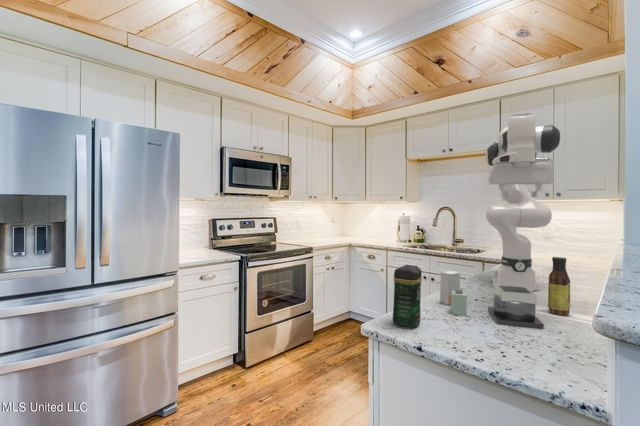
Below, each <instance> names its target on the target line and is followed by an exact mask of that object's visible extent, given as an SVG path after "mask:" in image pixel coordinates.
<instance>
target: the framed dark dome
mask: <svg viewBox="0 0 640 426" xmlns="http://www.w3.org/2000/svg"><path fill="white" fill-rule="evenodd" d="M536 305H537V293H535V292H534V291H531V290H530V289H528V288H527V287H518V286H505V285H495V287H494V295H493V306H491V305H489V306H487V311H488V313H489V315H490V316H491V318H492V319H493V321H494V323H495V324H496V325H503V326H512V327H520V328H521V327H522V328H531V329H539V330H544V329H545V324H544V322H542V321H541V320H540V319H539V318H538V317H537V316H536V308H537V306H536Z"/></svg>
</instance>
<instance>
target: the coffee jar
mask: <svg viewBox="0 0 640 426" xmlns="http://www.w3.org/2000/svg"><path fill="white" fill-rule="evenodd" d="M393 284H394V285H393V286H394V287H393V307H392V323H393V325H395V326H397V327H399V328H403V329H407V328H408V329H414V328H416V327H417V326H418V325H420V322H421V301H422V300H421V297H422V296H421V295H422V294H421V293H422V291H421V290H422V269H421V268H420V267H419V266H418V265H414V264H413V265H412V264H405V265H402V266H400V267H397V268H395V269H394V273H393Z"/></svg>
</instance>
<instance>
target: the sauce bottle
mask: <svg viewBox="0 0 640 426" xmlns="http://www.w3.org/2000/svg"><path fill="white" fill-rule="evenodd" d="M551 260H552V271H551V272H550V273H549V275H548V283H547V284H548V288H547V289H548V291H547V292H548V293H547V295H548V297H547V303H548V304H547V306H548V307H547V308H548V312H549V313H550V314H553V315H557V316H569V315H570V310H571V280H570V277H569V275H568V272H567V267H566V265H567V258H566V257H563V256H552V259H551Z"/></svg>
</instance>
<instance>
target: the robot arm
mask: <svg viewBox="0 0 640 426" xmlns="http://www.w3.org/2000/svg"><path fill="white" fill-rule="evenodd" d="M497 139H498V142H496V141H493V144H491V145H489V146H488V148H487V149H486V151H485V155H484V157H485V161H486V163H487V164H488V166H489V167H490V169H489V173H488V179H487V180H488V181H487V182H488V183H489V185H498V189H499V190H500V194H501V195H500V196H501V197H502V199H503V200H504V201H505V203H504V202H501V203H495V204H490V205H489V207H488V208H487V209H486V212H485V217H486V218H485V219H486V221H487V223H489V224H490V225H491V226H492V227H493V228H494V229H496V230H497V232H498V233H499V236H500V238H501V242H502V255H501V258H500V259H501V260H500V265H499V268H498V270H494V271H493V272H494V273H493V275H494V276H495V278H492V287H494V288H495V285H505V286H518V287H527V288H528V289H530V290H531V291H532V292H534V291H540V287H538V286H537V284H536V282H537V281H536V272H535V270H534V269H533V268H532V266H533V259H532V257H531V256H532V243H531V240H530V238H528V237H526V236H524V235H522V234H520V233H518V232H517V228H525V229H526V228H528V229H530V228H531V229H535V228H543V227H546V226H548V225H549V224H550V222H551V221H552V218H553V217H552V216H553V215H552V214H553V213H552V211H551V209H550V208H549V206H547V205H546V204H543V203H541V202H539V201H538V200H536V199H535V198H538V197H539V195H538V194H539V191H540V190H541V189H542V187H543V185H551V184H553V183H554V181H555V177H554V175H555V173H554V169H555V168H554V167H555V161H554V160H552V159H550V158H549V157H537V156H538V153H543V154H544V153H547V154H548V153H552V152H553V151H555V150H556V149H557V148H559V145H560V142H561V131H560V129H558V128H557V127H556V126H555V125H553V124H548V125H540V126H537V125H536V118H535V115H534V114H533V113H517V114H513V115H511V116H510V117H509V118H508V124H507V126H505V127H504V128H502V129H501V131H500V132H499V133H498V137H497ZM528 185H534V186H535V190H534V191H532V192H531V193H530V191H529V187H528Z"/></svg>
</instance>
